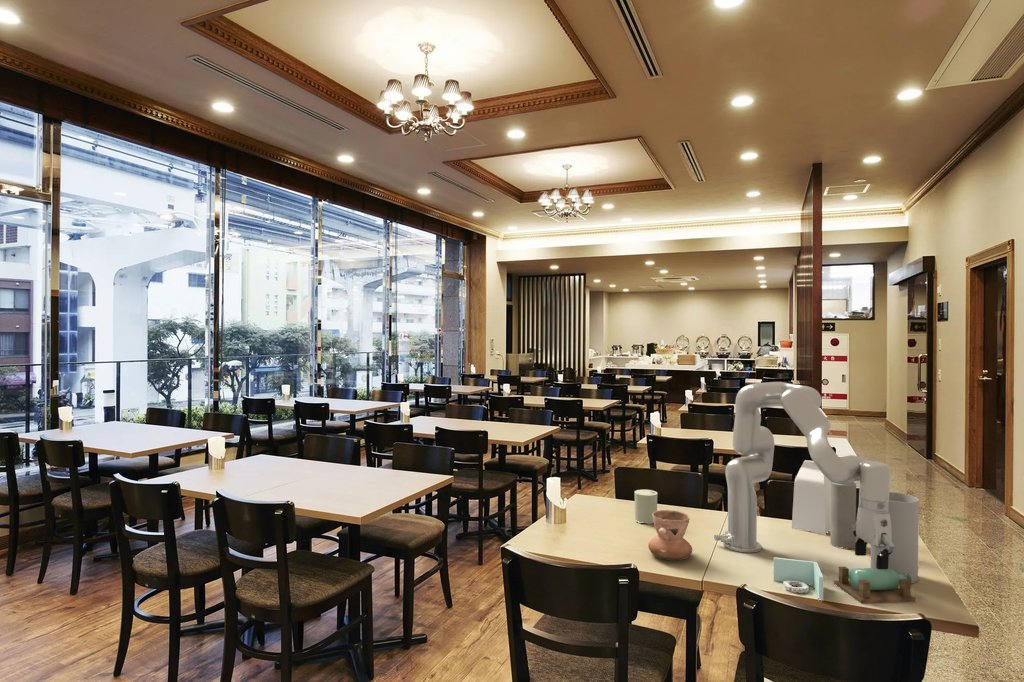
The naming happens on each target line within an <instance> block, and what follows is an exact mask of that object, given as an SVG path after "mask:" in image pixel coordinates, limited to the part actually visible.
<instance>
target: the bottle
mask: <svg viewBox="0 0 1024 682" xmlns="http://www.w3.org/2000/svg"><path fill="white" fill-rule="evenodd" d="M900 579H907V580H909V581H911V582H912V579H911V576H910V575H909V574H908V573H903V574H896V572H895V571H894V570H893V569H892V568H888V569H877V568H871V567H867V568H866V567H863V568H851V569H849V580H850V582H851V585H852V587H853V588H854V589H855V590H857V591H859V580H867V581H868V582H870V590H896V589H897V588H899V587H900Z"/></svg>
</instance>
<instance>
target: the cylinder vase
mask: <svg viewBox="0 0 1024 682" xmlns="http://www.w3.org/2000/svg"><path fill="white" fill-rule="evenodd" d="M919 500H920V499H919V498H918V497H916V496H913V495H911V494H906V493H901V492H894V491H889V511H888V513H889V514H890V519H891V530H892V543H893V544H894V549H893V551H892V553H891V554H890V556H889V560H888V568H892V569H893V570H894V571H895V572H896V574H903V573H908V574H909V575H910V576H911V579H912V582H911V584H914V583H916V582H917V581H918V580H919V521H920V520H919V519H920V518H919V516H920V515H919V514H920V513H919V510H920V509H919V507H920V506H919V505H920V503H919ZM879 544H881V543H879ZM882 550H884V548H881V551H882ZM877 555H879V554H878V552H877V549H876V547H875V546H873V545H871V544H870V568H876V559H877Z"/></svg>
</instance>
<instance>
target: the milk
mask: <svg viewBox="0 0 1024 682" xmlns="http://www.w3.org/2000/svg"><path fill="white" fill-rule="evenodd" d="M793 485H794V486H793V498H792V499H793V502H792V519H791V529H793V528H795V529H794V530H798V529H801V530H800V531H803V530H806V531H805V532H808V531H811V532H810V533H813V532H815V534H818V533H821V534H820V535H823V534H826V533H827V532H828V531H829V530H830V527H831V481H830V480H829V479H827V478H826V477H825V476H824V474H823V473H822V472H821V471H820V470H819V468H818V467H817V466H816V464H815V463H814V461H813V460H806V459H805V460H804V461H803V462H802V465H801V467H800V468H799V470H798V472H797V474H796V475H795V478H794V484H793ZM829 532H830V531H829ZM829 532H828V533H829ZM828 533H827V534H828ZM827 534H826V535H827Z"/></svg>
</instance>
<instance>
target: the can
mask: <svg viewBox="0 0 1024 682" xmlns="http://www.w3.org/2000/svg"><path fill="white" fill-rule="evenodd" d="M655 511H658V492H657V491H655V490H653V489H637V490H634V518H633V520H634V519H635V520H637V521H639V522H643V523H654V522H653V517H652V513H653V512H655Z"/></svg>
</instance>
